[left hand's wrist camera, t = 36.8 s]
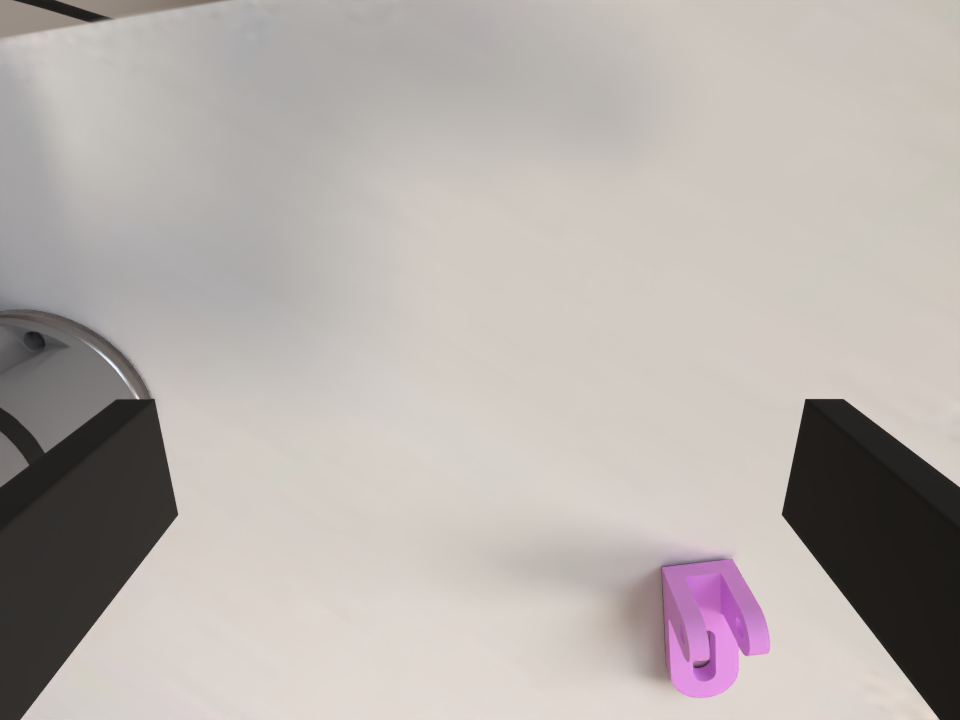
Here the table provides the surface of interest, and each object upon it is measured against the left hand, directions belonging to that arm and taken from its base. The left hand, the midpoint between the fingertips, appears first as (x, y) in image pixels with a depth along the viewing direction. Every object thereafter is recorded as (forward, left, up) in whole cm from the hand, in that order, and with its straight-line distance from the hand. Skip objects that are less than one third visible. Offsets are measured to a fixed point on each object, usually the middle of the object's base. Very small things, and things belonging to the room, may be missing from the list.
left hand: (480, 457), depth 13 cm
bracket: (+37, +2, -29) cm, 48 cm away
